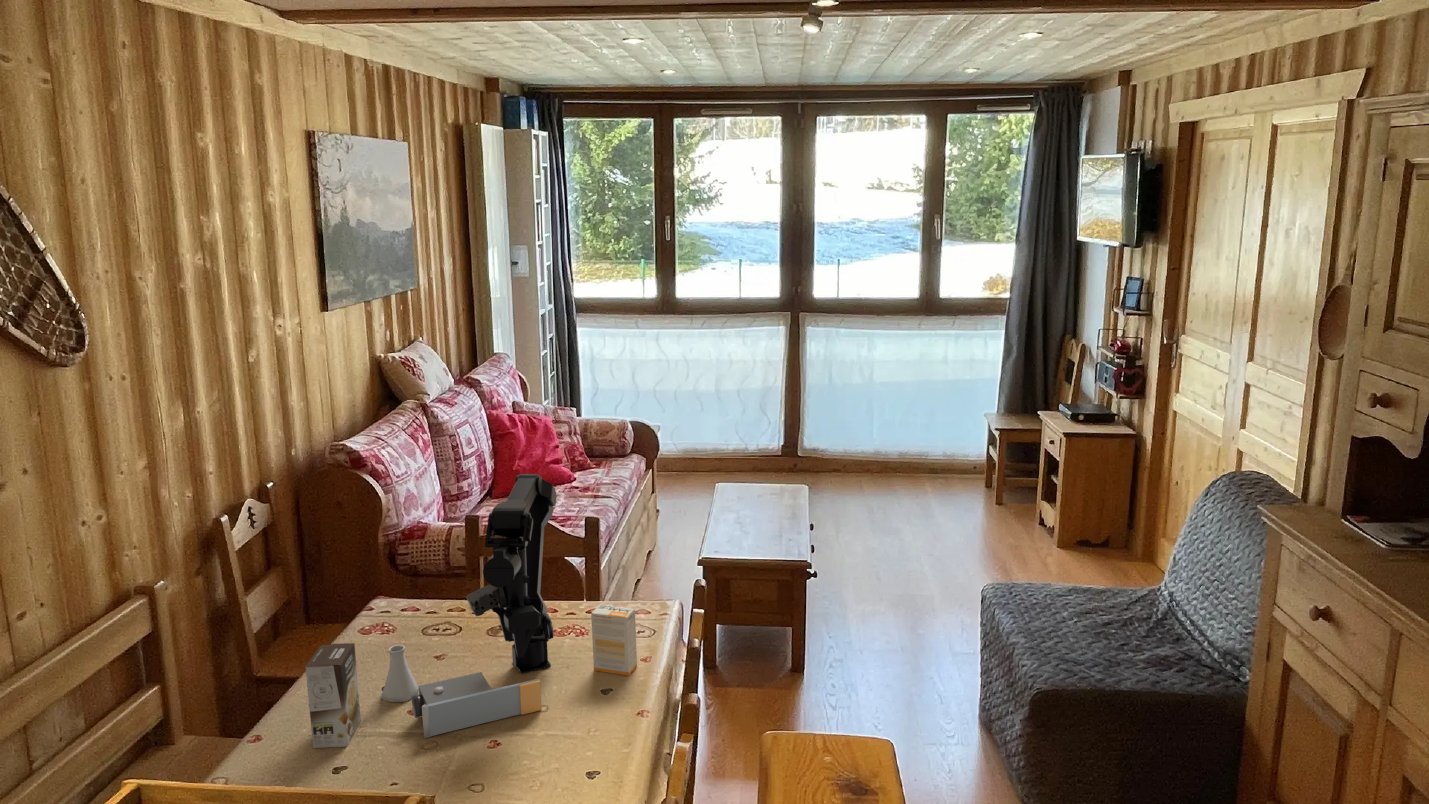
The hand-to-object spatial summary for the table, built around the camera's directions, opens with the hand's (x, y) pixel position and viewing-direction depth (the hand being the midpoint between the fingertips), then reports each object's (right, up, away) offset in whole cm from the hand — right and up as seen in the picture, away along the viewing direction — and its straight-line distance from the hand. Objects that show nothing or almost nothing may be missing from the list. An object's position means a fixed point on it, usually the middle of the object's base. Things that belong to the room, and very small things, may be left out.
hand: (514, 648), depth 193 cm
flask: (-24, -11, +5) cm, 26 cm away
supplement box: (+18, -8, +15) cm, 25 cm away
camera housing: (-10, -12, -4) cm, 16 cm away
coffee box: (-31, -14, -10) cm, 35 cm away
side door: (-4, -12, -6) cm, 15 cm away
